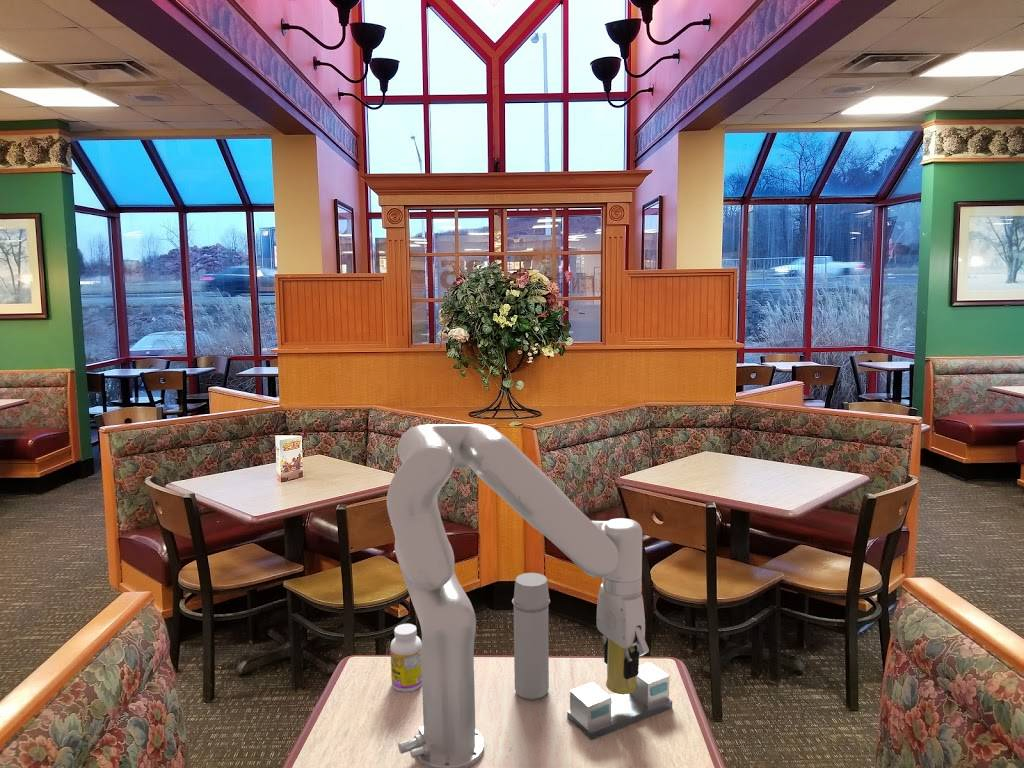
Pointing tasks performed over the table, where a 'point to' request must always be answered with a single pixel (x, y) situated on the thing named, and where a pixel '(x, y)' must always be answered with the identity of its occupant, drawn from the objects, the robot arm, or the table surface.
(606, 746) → the table surface
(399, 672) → the supplement bottle
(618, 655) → the vase
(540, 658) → the water bottle
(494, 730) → the table surface
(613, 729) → the rail board
